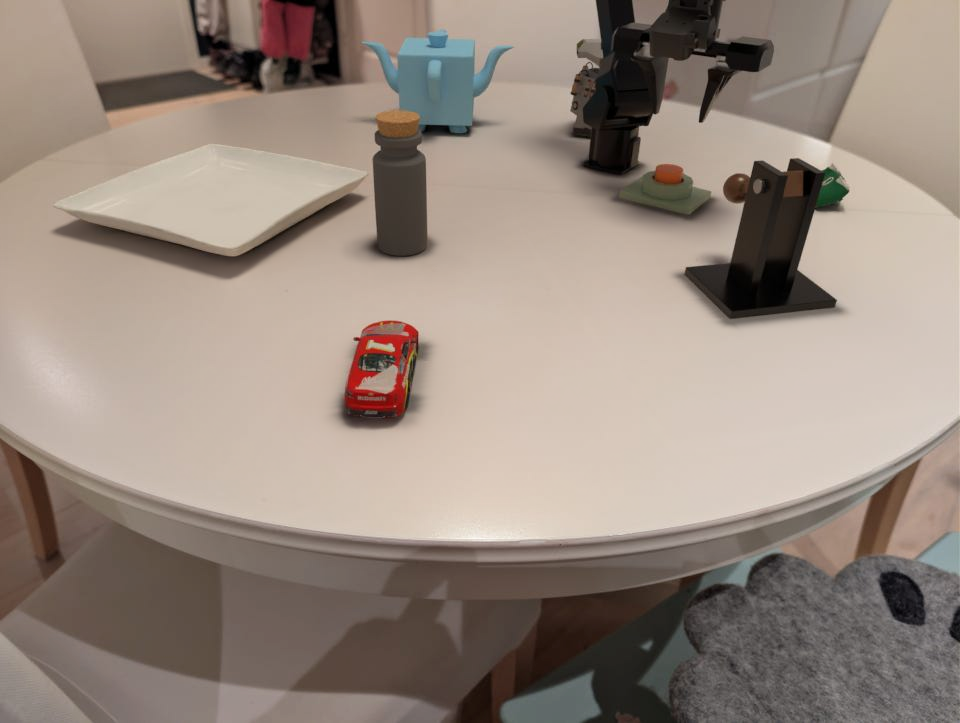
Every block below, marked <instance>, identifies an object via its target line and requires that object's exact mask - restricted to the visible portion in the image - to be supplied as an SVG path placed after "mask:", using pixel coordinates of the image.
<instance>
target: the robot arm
mask: <svg viewBox="0 0 960 723" xmlns="http://www.w3.org/2000/svg"><path fill="white" fill-rule="evenodd" d="M726 1H727V0H668V3H667V7H666V9H665V11H664V12H662V13H661V14H660V15H659V16H658V17H657V18H656V19H655V21H654V22H653V23H652V24H648V23H641V22H640V23H639V22H636V18H635V17H636V16H635V9H634V2H633V0H595V6H596V13H597V20H598V28H599V35H600V39H601V43H602V50H603V61H602V64H601V66H600V67H599V68H600V69H599V71H598V74H597V76H596V79H595V88H596V92H595V93H594V94H593V95H592V97H591V98H590V99H589V100H588V102H587V103H586V104H585V106H584V107H583V122H584V123H585V124H587V125H589V126H590V127H592V129H591V137H590V138H589V139H590V140H589V149H588V158H587V160H584V161H583V162H582V166H583V167H585V168H588V169H594V170H598V171H602V172H606V173H610V174H615V175H620V176H621V175H624V174H625V173H627V172H628V171H630V170H631V169H633V168H635V167H636V166H638V165H639V162H640V161H639V154H640V148H641V141H642V138H641V136H639V132H640V127H649V126H650V124H651V123H650V122H651V121H652V117H653V115H655V116H656V115H658V114H659V113H660V111H661V107H662V104H663V98H664V91H665V84H666V79H667V72H668V65H669V60H670V59H673V60H674V61H677V62H683V61H686V60H688V59H689V58H690V57H691V56H700V57H706V58H714V59H715V62H716V63H715V65H713V66H711V67H710V68H707V83H706V87H705V91H704V94H703V98H702V100H701V101H702V102H701V105H700V109H699V115H698V123H699V124H702V123H704V122H705V121H706V119H707V117H708V115H709V114H710V112H711V111H712V109H713V107H714V105H715V103H716V102H717V100H718V98H719V96H720V95H721V93H722V92H723V90H724V89H725V87H726V85H727V84H728V83H729V82H730V80H731V79H732V77H735V75H738V74H740V73H741V72H748V73H759V72H761V71H763V70H764V69H766V68H768V67H769V66H771V65H772V62H773V57H774V54H775V45H774V43H773V41H772V39H765V38H757V37H749V36H741V37H738V38H735V39H734V40H732V41H730V42H727V41H719V40H717V39H719V38H720V34H721V28H719V26H720V20H721V16H722V9H723V4H724V2H726Z"/></svg>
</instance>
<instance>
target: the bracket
mask: <svg viewBox="0 0 960 723" xmlns="http://www.w3.org/2000/svg"><path fill="white" fill-rule="evenodd" d="M787 171H803V196H795V197H783V193H784V189H785V185H786V182H787V178H788V175H786V174H785V173H783V172H784V171H781V170H780V169H778V168H777V167H775V166H773V165H771V164H770V163H769V162H767V161H765V160H764V159H763V160H754V161H753V164H752V169H751V173H750V176H749V177H750V181H749V185H748V190H747V194H746V198H745V202H743V206H742V211H741V216H740V220H739V224H738V229H737V232H736V237H735V242H734V247H733V250H732V254H731V259H730V262H727V263H725V262H724V263H715V264H714V263H713V264H704V265H693V266H686V267H685V270H684V276H686V277H687V278H688V279H689V281H691V283H692V284H694V285H695V287H697V288H698V289H699V290H700V291H701V292H702V293H703V294H704V295H705V296H706V297H707V298H708V299H709V300H710V301H711V302H712V303H713V304H714V305H715V306H716V307H718V308H719V310H721V311H722V313H724V314H725V315H726V316H727V317H728V319H730V320H732V319H741V318H750V317H759V316H766V315H768V316H769V315H776V314H777V315H778V314H786V313H795V312H796V313H797V312H803V311H813V310H822V309H831V308H835V307H836V304H837V303H838V302H837V301H838V300H837V299H836V298H835V297H834V296H833V295H832V294H830V293H829V292H828V291H827V290H825V289H824V288H822V287H821V286H819V285H818V284H817V283H815V281H813V280H811V278H809V277H807V276H806V274H803V273H802V272H801V271H800V270H799V266H800V262H801V259H802V255H803V252H804V248H805V245H806V241H807V238H808V234H809V231H810V228H811V224H812V220H813V217H814V213H815V210H816V208H815V207H816V204H817V200H818V197H819V193H820V190H821V187H822V183H823V180H824V176H825V172H823V171H822V170H821V169H819V168H818V167H815V166H814V165H812V164H810V163H808V162H806V161H805V160H803V159H801V158H799V157H795V158H794V157H793V158H789V161H788V165H787V169H786V172H787Z"/></svg>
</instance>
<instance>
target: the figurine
mask: <svg viewBox="0 0 960 723" xmlns="http://www.w3.org/2000/svg"><path fill="white" fill-rule="evenodd" d="M576 56H577V59H587V60H588V62H586V63H585V65H582V67H581V68H582V69H581V70H580V71H579V72H578V73H576V74H575V76H574V80H573V84H572V86H571V91H570V95H571V96H572V100H571V101H572V102H571V106H570V112H571V113H572V114H574V115H575V116H576V117H575V120H574V121H575V122H574V126H573V129H572V133H571V134H573V135H574V136H575V137H578V136H580V138H583V137H584V136H587V138H589V139H590V138H591V129H592V127H590V126H589V125H587V124H585V123H584V122H583V107H584V106H585V104H586V103H587V102H588V100H589V99H590V98H591V97H592V95H593V94H594V93H595V92H596V88H595V79H596V76H597V74H598V71H599V69H600V66H601V64H602V61H603V50H602V43H601V38H582V39H581V40H580V41H578V42H577V43H576ZM589 64H590V65H591V68H589ZM594 64H595V65H596V66H597V67H594Z"/></svg>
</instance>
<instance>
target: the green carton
mask: <svg viewBox="0 0 960 723" xmlns="http://www.w3.org/2000/svg"><path fill="white" fill-rule="evenodd" d="M830 164H831V165H829V166H827V167H826V168H824V169H822V170H821V171H823V172H825V176H824V180H823V183H822V187H821V190H820V193H819V197H818V200H817V204H816V207H815V209H816V208H821V207H824V206H830V205H831V204H835V203H836V202H837V203H838V202H841V201H842V200H844V199H843V198H845V197H846V196H847V195H848V194H849V193H850V186H849V183H848V182H847V180H846V179H845V177H844V176H843V175H842V172H841V170H840V169H839V168H838V167H837V166H836V164H834V163H833V162H832V163H830Z"/></svg>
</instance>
